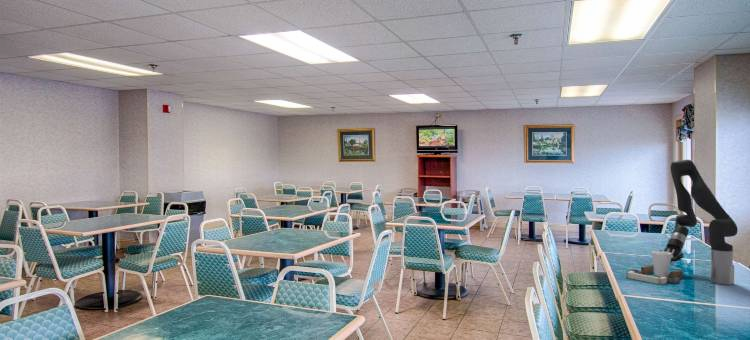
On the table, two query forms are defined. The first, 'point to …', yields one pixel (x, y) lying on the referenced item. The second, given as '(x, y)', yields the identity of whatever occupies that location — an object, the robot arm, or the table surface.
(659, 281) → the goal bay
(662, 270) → the foam cup
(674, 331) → the table surface
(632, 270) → the pit
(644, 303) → the table surface
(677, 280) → the pit
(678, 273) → the channel
